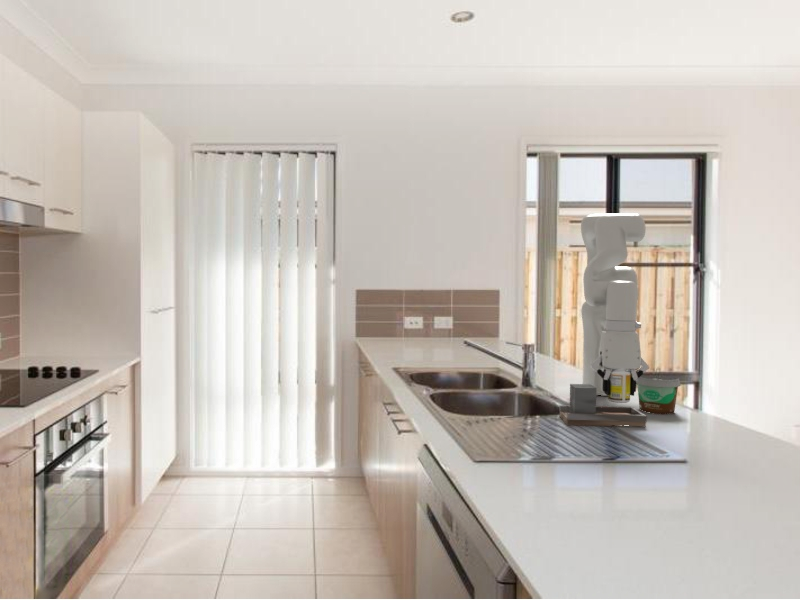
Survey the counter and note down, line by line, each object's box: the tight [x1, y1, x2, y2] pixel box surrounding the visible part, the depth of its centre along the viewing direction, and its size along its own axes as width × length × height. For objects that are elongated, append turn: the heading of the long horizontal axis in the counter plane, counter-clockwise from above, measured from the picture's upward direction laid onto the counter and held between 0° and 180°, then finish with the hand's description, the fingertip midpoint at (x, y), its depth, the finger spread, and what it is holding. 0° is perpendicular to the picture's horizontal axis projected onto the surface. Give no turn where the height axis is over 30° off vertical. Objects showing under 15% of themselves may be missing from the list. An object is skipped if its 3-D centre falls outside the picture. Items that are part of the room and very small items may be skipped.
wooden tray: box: [558, 383, 648, 428], centre depth 161 cm, size 11×20×10 cm, turn 87°
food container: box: [636, 376, 682, 415], centre depth 173 cm, size 12×6×10 cm, turn 62°
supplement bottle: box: [607, 368, 631, 404], centre depth 160 cm, size 6×6×10 cm
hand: (619, 393), depth 161 cm, fingers closed on supplement bottle, 5 cm apart
